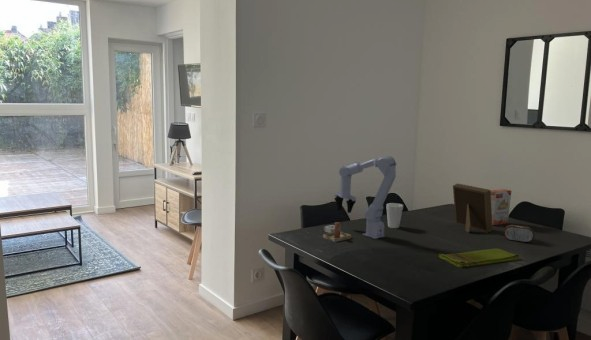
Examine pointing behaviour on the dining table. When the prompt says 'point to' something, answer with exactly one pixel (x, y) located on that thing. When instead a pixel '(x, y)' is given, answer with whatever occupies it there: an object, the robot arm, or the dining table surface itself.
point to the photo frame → (472, 207)
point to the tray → (342, 237)
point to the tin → (519, 233)
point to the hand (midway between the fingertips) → (344, 211)
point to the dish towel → (479, 257)
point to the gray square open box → (330, 228)
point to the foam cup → (394, 214)
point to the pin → (337, 230)
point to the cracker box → (500, 206)
